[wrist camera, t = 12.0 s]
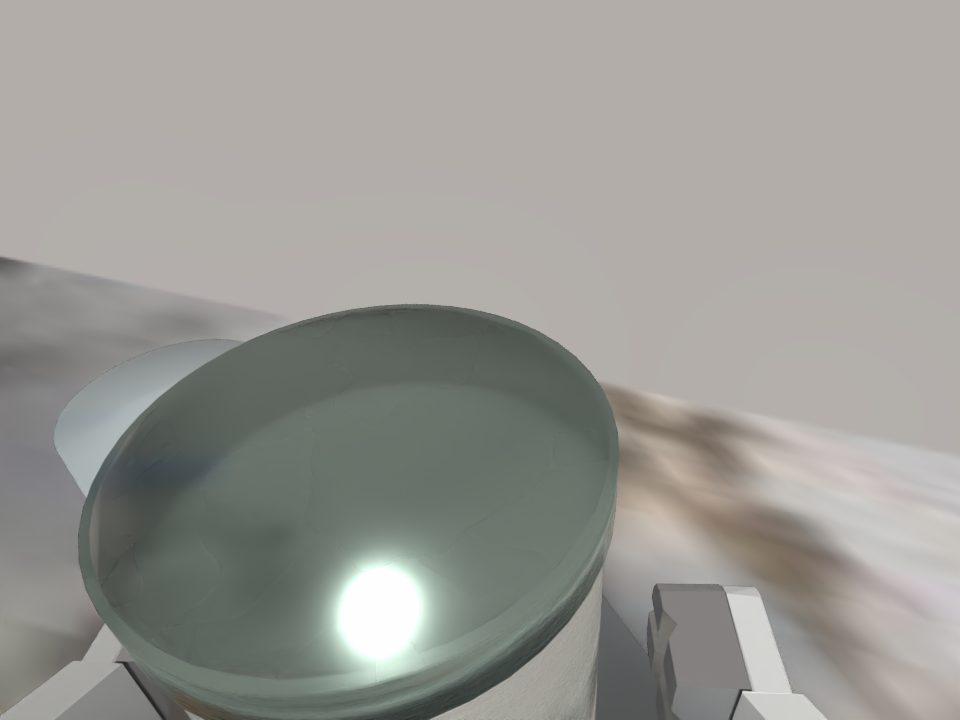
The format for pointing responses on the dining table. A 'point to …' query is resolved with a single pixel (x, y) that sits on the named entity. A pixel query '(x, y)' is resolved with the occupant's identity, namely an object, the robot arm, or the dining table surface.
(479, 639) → the tea tin
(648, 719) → the slate trivet
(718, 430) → the dining table surface
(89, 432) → the white rounded cylinder
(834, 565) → the dining table surface
